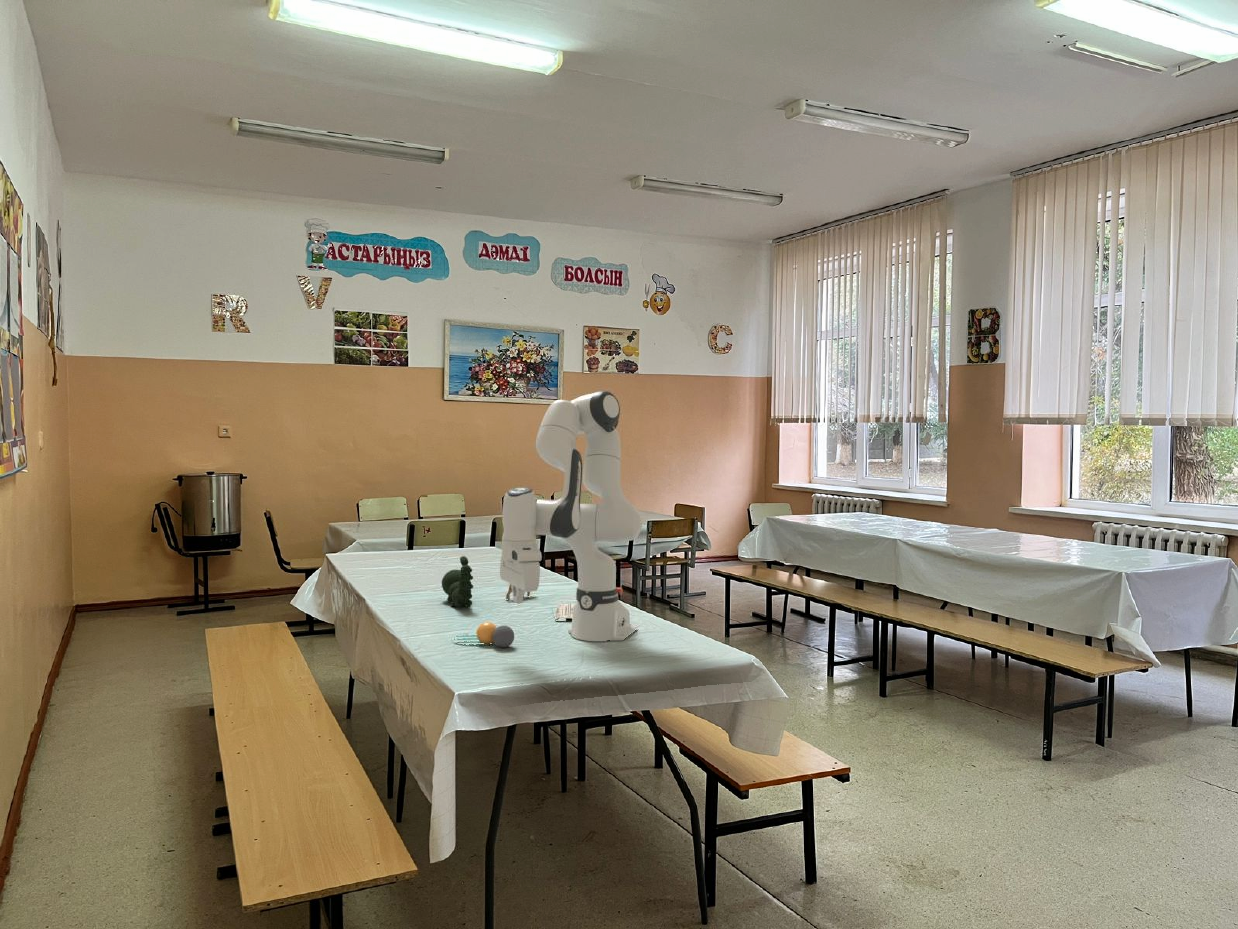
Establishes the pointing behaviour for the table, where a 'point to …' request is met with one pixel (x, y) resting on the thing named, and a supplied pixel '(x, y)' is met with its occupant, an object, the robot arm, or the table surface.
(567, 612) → the newspaper
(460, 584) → the toy figurine
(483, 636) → the orange ball
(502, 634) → the dark grey ball
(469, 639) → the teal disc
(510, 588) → the lion figurine
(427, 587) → the table surface
